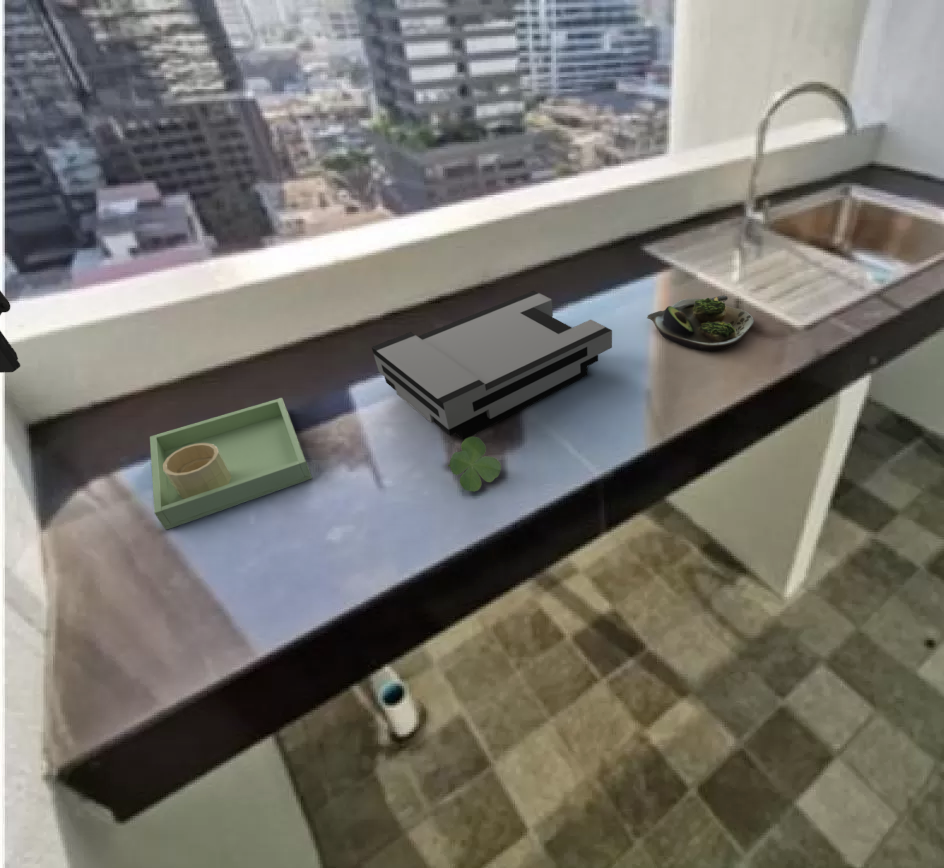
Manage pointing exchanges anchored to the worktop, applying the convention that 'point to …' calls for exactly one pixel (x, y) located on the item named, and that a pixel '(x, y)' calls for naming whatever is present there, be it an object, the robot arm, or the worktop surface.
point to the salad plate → (702, 323)
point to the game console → (490, 363)
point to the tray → (231, 460)
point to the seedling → (474, 464)
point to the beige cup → (196, 469)
